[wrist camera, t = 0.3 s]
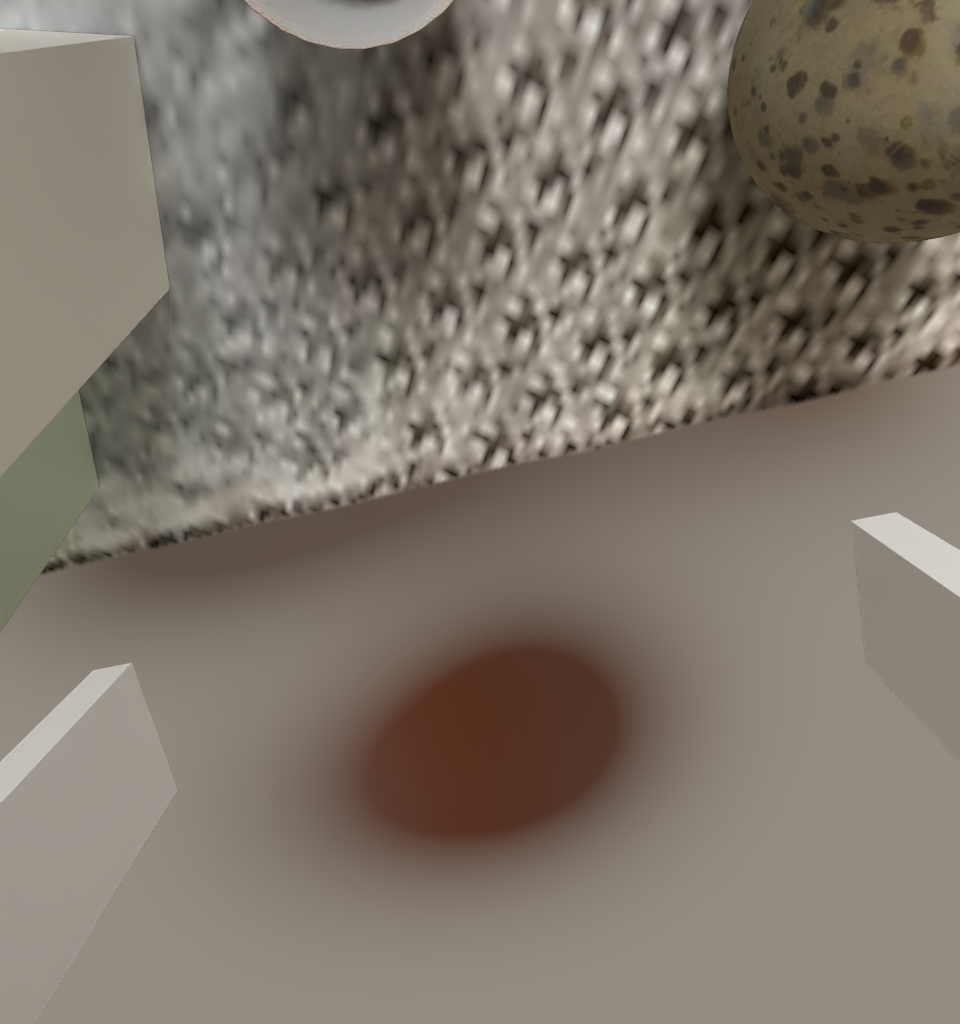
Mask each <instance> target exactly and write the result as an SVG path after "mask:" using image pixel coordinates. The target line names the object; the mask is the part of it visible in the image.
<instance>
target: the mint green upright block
mask: <svg viewBox="0 0 960 1024" xmlns="http://www.w3.org/2000/svg"><path fill="white" fill-rule="evenodd" d="M98 488H99V483H98V478H97V474H96V469H95V464H94V460H93V455H92V450H91V446H90V441H89V436H88V432H87V427H86V422H85V418H84V413H83V408H82V404H81V399H80V394H79V390H78V391H77V392H76V393H75V394H74V396H73V397H72V398H71V399H70V400H69V401H68V402H67V403H66V404H65V406H64V407H63V408H62V409H61V410H60V411H59V412H58V413H57V414H56V416H55V417H54V418H53V419H52V420H51V421H50V422H49V423H48V424H47V426H46V427H45V428H44V429H43V430H42V431H41V432H40V433H39V434H38V436H37V437H36V438H35V439H34V440H33V441H32V442H31V443H30V444H29V446H28V447H27V448H26V449H25V450H24V451H23V452H22V453H21V454H20V456H19V457H18V458H17V459H16V460H15V461H14V462H13V463H12V464H11V466H10V467H9V468H8V469H7V470H6V471H5V472H4V473H3V474H2V476H1V477H0V632H1V631H2V629H3V628H4V626H5V625H6V623H7V622H8V620H9V619H10V618H11V616H12V615H13V613H14V612H15V610H16V609H17V607H18V606H19V604H20V603H21V601H22V600H23V598H24V597H25V595H26V594H27V593H28V591H29V590H30V588H31V587H32V585H33V584H34V582H35V581H36V579H37V578H38V576H39V575H40V573H41V572H42V570H43V569H44V568H45V566H46V565H47V563H48V562H49V560H50V559H51V557H52V556H53V554H54V553H55V551H56V550H57V548H58V547H59V545H60V544H61V543H62V541H63V540H64V538H65V537H66V535H67V534H68V532H69V531H70V529H71V528H72V526H73V525H74V523H75V522H76V520H77V519H78V518H79V516H80V515H81V513H82V512H83V510H84V509H85V507H86V506H87V504H88V503H89V501H90V500H91V498H92V497H93V495H94V494H95V493H96V491H97V490H98Z"/></svg>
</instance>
